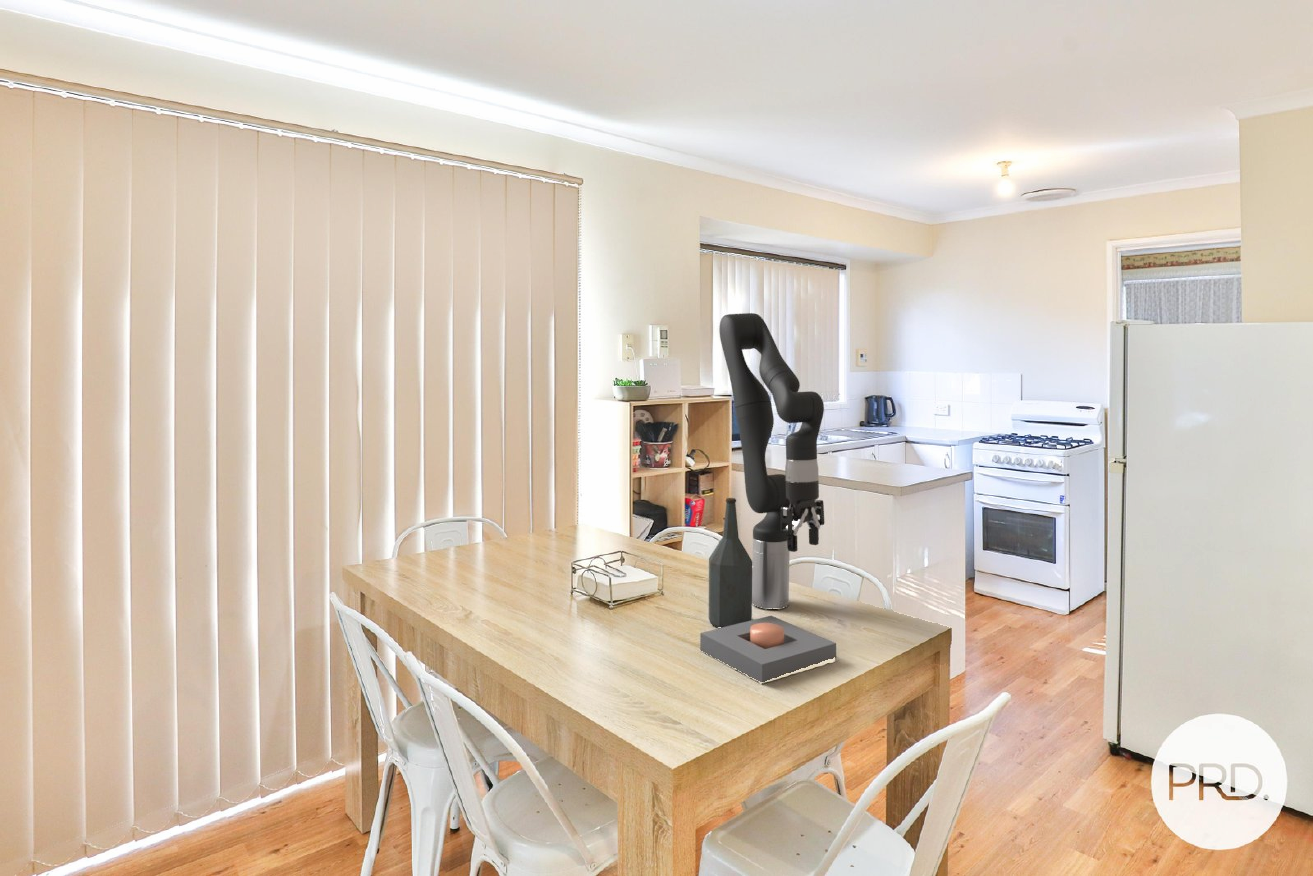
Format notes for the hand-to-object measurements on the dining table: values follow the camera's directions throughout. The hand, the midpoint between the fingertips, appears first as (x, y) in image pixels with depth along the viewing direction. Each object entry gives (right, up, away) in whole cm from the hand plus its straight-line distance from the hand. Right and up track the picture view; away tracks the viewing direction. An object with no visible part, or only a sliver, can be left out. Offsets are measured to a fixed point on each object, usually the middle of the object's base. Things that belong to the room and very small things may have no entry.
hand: (803, 547), depth 175 cm
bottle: (-17, -19, +4) cm, 25 cm away
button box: (-11, -20, -16) cm, 28 cm away
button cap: (-11, -18, -17) cm, 27 cm away
